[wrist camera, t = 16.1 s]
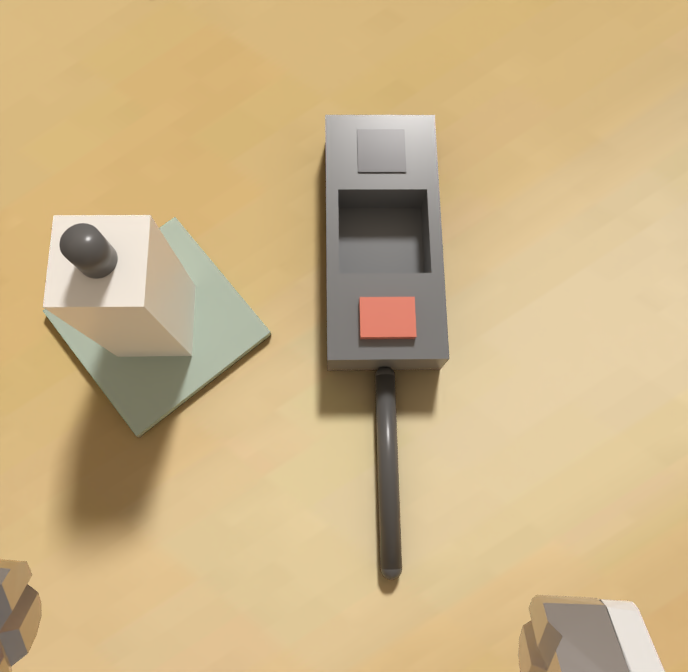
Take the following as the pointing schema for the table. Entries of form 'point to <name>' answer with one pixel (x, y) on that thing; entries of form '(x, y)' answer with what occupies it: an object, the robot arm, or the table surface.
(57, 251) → the plug
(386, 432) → the power strip
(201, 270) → the mat
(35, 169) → the table surface
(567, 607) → the robot arm
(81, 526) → the table surface
